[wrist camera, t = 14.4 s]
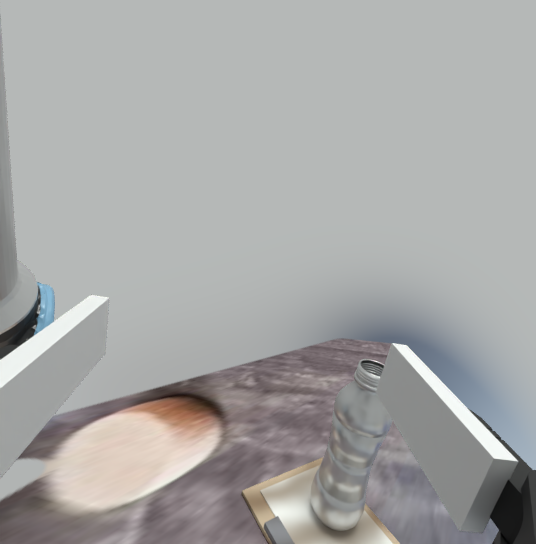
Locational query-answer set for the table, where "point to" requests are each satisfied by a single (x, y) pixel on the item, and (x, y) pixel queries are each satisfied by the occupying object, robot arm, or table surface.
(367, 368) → the plastic bottle
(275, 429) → the table surface
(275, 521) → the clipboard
